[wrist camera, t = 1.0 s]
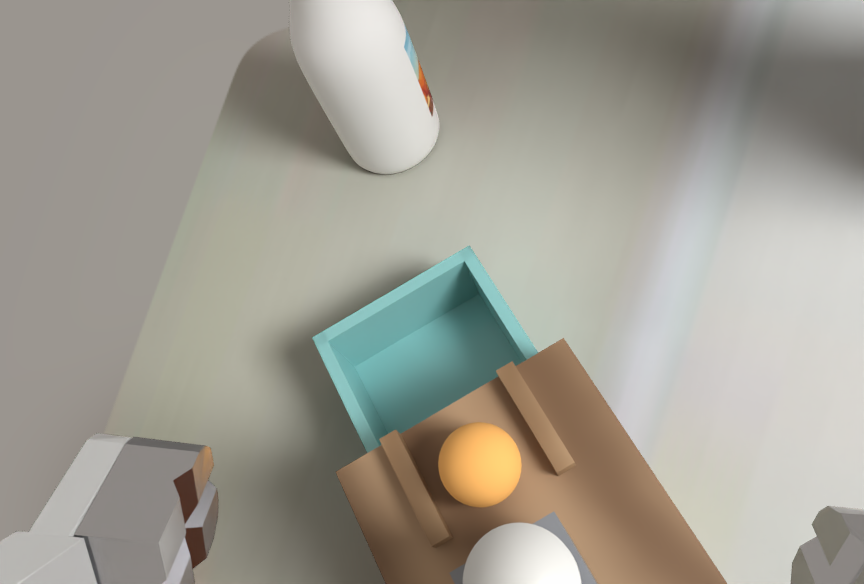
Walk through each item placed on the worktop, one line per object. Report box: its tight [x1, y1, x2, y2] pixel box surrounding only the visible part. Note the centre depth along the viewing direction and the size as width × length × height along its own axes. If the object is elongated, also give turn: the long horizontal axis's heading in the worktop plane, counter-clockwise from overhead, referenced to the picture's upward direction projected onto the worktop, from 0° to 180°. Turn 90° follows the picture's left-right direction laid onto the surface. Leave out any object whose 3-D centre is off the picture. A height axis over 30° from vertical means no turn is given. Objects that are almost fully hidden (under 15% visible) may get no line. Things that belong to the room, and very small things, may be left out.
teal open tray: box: [312, 246, 538, 453], centre depth 48 cm, size 12×10×6 cm
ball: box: [438, 422, 522, 508], centre depth 36 cm, size 4×4×4 cm
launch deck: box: [336, 338, 727, 584], centre depth 40 cm, size 14×14×11 cm
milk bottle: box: [289, 0, 439, 174], centre depth 51 cm, size 8×8×20 cm
